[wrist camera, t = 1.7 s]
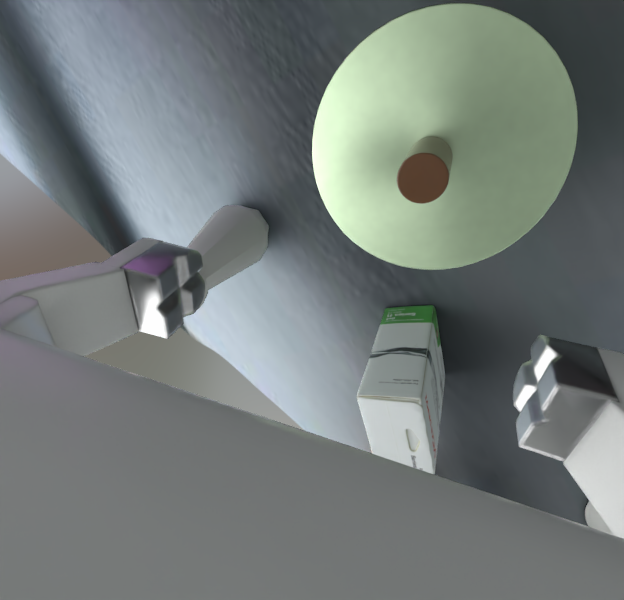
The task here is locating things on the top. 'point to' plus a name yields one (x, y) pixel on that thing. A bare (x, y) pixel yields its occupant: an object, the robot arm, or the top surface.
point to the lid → (445, 136)
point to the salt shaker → (230, 243)
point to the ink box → (404, 388)
